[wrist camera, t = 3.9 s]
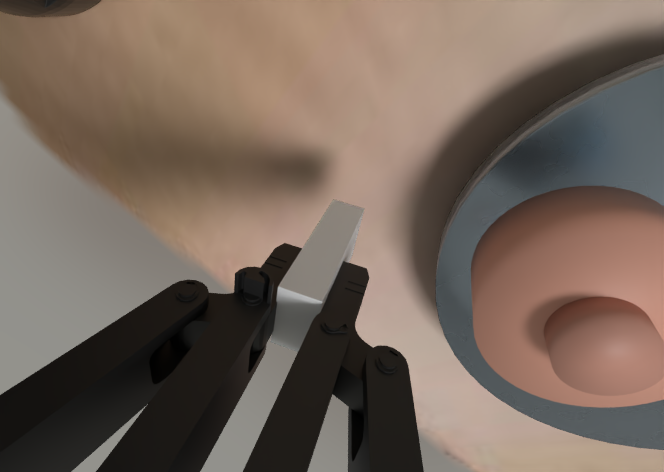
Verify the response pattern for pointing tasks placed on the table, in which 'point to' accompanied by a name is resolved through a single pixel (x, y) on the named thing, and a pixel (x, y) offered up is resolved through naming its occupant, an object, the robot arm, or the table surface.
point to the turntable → (547, 175)
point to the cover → (574, 296)
